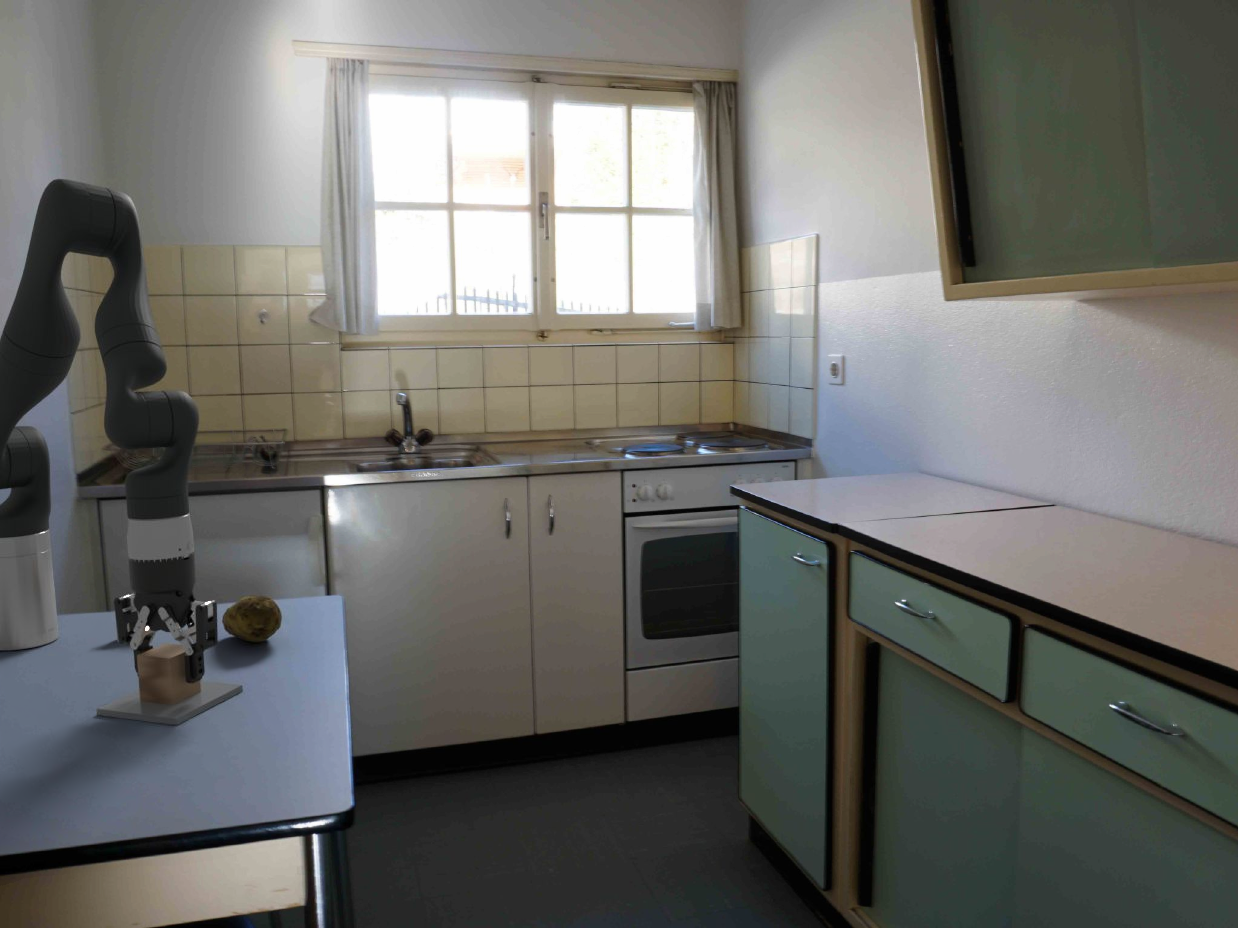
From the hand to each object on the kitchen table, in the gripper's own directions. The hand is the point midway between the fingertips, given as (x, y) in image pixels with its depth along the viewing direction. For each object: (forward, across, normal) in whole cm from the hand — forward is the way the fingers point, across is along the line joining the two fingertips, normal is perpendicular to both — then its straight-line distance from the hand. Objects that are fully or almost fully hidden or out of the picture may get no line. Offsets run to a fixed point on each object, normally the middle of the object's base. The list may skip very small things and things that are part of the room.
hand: (170, 678), depth 125 cm
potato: (+3, -6, +24) cm, 25 cm away
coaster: (+3, 0, 0) cm, 3 cm away
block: (+2, 0, 0) cm, 2 cm away
